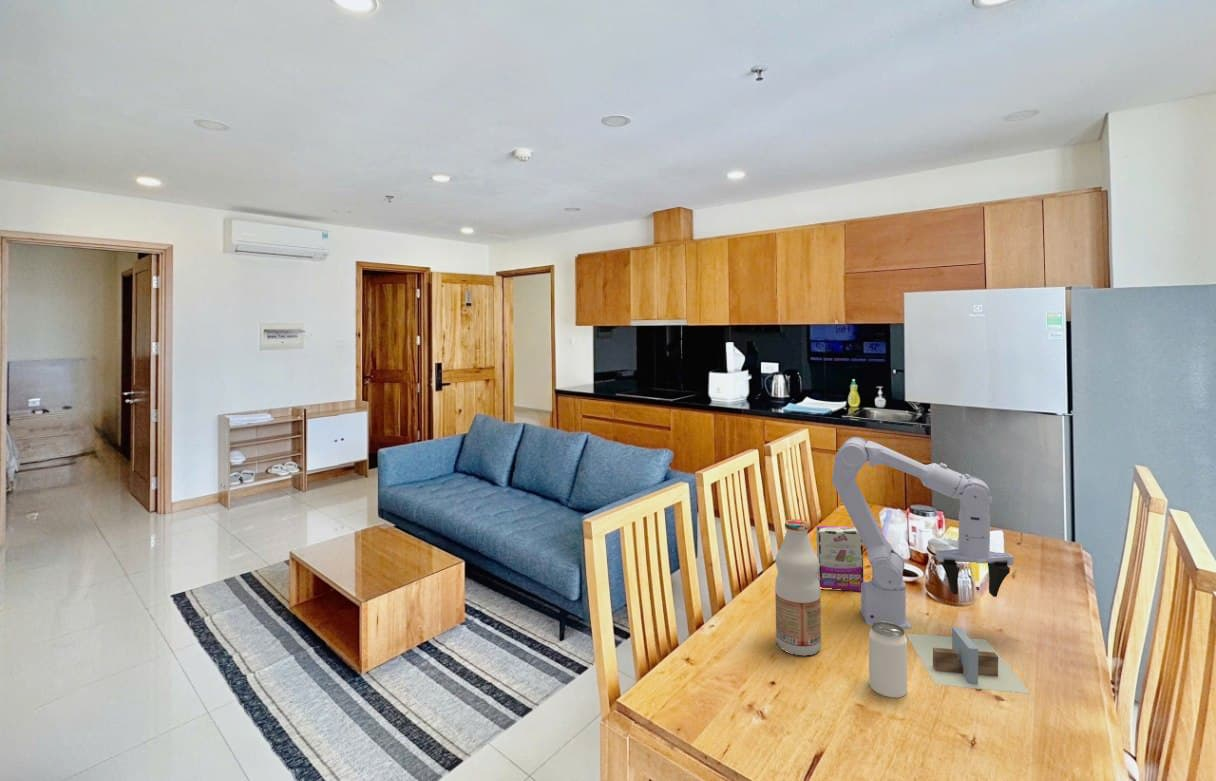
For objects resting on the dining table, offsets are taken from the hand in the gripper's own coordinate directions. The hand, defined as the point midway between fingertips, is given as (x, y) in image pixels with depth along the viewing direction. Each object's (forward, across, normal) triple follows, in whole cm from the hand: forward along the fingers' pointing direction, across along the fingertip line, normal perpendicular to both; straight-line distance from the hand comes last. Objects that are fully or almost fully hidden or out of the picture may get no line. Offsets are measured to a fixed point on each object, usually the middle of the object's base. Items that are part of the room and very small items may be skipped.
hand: (973, 593), depth 120 cm
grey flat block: (+10, -7, -15) cm, 19 cm away
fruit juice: (+10, -38, -10) cm, 41 cm away
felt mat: (+10, -6, -11) cm, 16 cm away
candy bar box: (+10, -24, +22) cm, 34 cm away
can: (+10, -23, -23) cm, 34 cm away
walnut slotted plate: (+10, -7, -15) cm, 19 cm away
